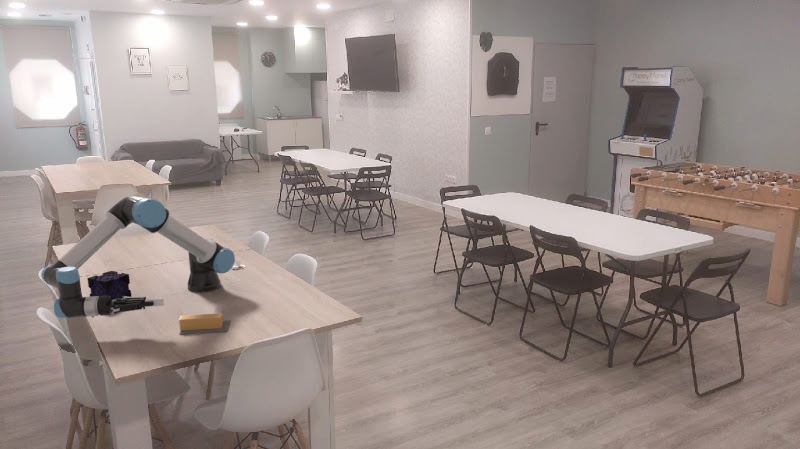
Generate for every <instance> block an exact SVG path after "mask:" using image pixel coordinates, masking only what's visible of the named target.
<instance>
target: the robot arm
mask: <svg viewBox="0 0 800 449" xmlns="http://www.w3.org/2000/svg"><path fill="white" fill-rule="evenodd" d="M132 224H136V225H138V226H140V227H142V228H143V229H144V230H146V231H147V232H149V233H151V234H155V233H157V234H160V235H161V236H163V237H164V238H166V239H167V240H169V241H170V242H172V243H174V244H175V245H177V246H179V247H180V248H182V249H183V250H185V251H187V253H188V261H189V262H188V263H189V264H188V265H189V277H188V280H187V290H188V291H190V292H195V293H197V292H198V293H202V292H203V293H204V292H210V291H213V290H214V291H215V290H216V289H219V288H221V286H222V285H221V279H220V276H219V274H226V273H228V272H229V271H231V270H232V269H231V268H232V267H233V266H234V265H235V263H234V262H235V260H236V258H235V255H236V254H235V253H234V252H233V250H231V249H230V248H228V247H225V246H222V244H219V243H218V242H216V241H215V240H214V239H213V238H204V237H202V235H200V234H198V233H197V232H195V231H194V230H192V229H191V228H189V227H188V226H186V225H185V224H183V223H182V222H181V221H179V220H177V219H176V218H174V217H173V216H172V215H170V210H168V209H167V208H166V207H165V205H164V204H163V203H162V202H160V201H159V200H157V199H155V198H153V197H146V196H141V195H136V194H133V195H132V194H131V195H128V196H125V197H124V198H122V199H121V200H119V201H117V203H115V204H114V205H113V206H112V207H111V208H110V209H108V211H106V213H105V217H104V218H102V219H101V221H99V222H98V223H97V224H96V225H95V226H94V227H93V228H92V229H90V231H88V233H86V235H85V236H84V237H82V238H81V239H80V240H79V241H78V242H77V243H76V244H75V245H73V247H71V248H70V249H69V250H68V251H67V252H66V253H64V255H63V256H61V257H60V258H59V259H58V260H57V261H56V262H55V263H54V264H49V265H47V266H45V267H44V268H43V269H42V270H41V272H40V273H41V279H42V281H43V282H44V283H46V285H49V286H51V287H53V288H55V289H57V290H58V294H59V295H58V296H59V298H57V299H56V300H55V301H54V303H53V304H54V305H53V306H54V308H53V312H54V315H55V317H57V318H59V319H72V318H84V317H91V318H94V317H99V316H111V314H112V313H114V314H119V313H124V312H130V311H131V312H132V311H139V310H142V309H143V310H146V308H147V307H148V308H149V307H161V306H164V305H165V302H164V301H165V300H164V297H158V298H147V297H146V296H131V297H127V296H123V297H122V298H123V299H121V298H117V299H114V300H113V299H112V298H111V296H100V297H99V296H92V297H90V296H83V292H82V287H81V286H82V285H81V277H80V273H79V269H80V268H81V267H82V266H83V265H84V264H85V263H86V262H87V261H88V260H89V259H90V258H91V257H93V255H95V254H96V252H98V251H99V250H100V249H101V248H103V246H104V245H105V244H106V243H107V242H108V241H110V239H112V238H113V237H114V235H115V234H117V233H118V232H119V231H120V230H124V229H126V228H127V227H128V226H129V225H132Z"/></svg>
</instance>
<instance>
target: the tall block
mask: <svg viewBox="0 0 800 449" xmlns="http://www.w3.org/2000/svg"><path fill="white" fill-rule="evenodd" d="M223 321H224V319H223V313H221V312H220V313H219V312H218V313H204V314H203V313H202V314H186V315H180V317H179V318H178V327H179V331H180V332H181V330H197V329H213V328H222V325H223Z"/></svg>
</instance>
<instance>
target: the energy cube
mask: <svg viewBox="0 0 800 449" xmlns="http://www.w3.org/2000/svg"><path fill="white" fill-rule="evenodd" d="M130 280H131V278H130V274H129V273H125V272H122V273H118V271H114V270H109V271H107V272H103V273H102V274H100V275H92V276H89V277H87V285H88V286H87V287H88V288H89V289H90V294H89V297H92V296H99V297H100V296H111V298H112V299H113V300H114V299H117V298H121V299H123V298H122V297H123V296H127V297H132V289H130V286H129V285H130V283H131V281H130Z"/></svg>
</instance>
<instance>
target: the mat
mask: <svg viewBox="0 0 800 449" xmlns="http://www.w3.org/2000/svg"><path fill="white" fill-rule="evenodd" d="M231 322H232V319H231V320H230V319H229V320H228V319H227V320H223V325H222V328H213V329H197V330H181V331H180V332H179V335H195V334H196V335H197V334H212V333H213V334H214V333H227V332H228V331H229V328H230V325H231Z"/></svg>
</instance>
